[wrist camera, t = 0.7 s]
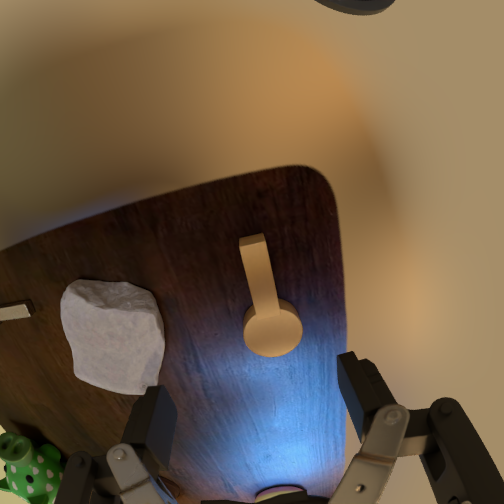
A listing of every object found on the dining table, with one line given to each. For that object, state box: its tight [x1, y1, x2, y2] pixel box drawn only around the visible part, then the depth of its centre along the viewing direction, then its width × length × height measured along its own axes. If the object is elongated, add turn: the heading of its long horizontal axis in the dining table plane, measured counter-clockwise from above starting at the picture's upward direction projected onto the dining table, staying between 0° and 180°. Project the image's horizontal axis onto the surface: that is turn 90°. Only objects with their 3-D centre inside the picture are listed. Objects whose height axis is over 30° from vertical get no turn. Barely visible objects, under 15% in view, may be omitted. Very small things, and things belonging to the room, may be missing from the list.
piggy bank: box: [0, 432, 67, 504], centre depth 29 cm, size 14×18×15 cm
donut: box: [255, 486, 302, 503], centre depth 38 cm, size 10×5×9 cm
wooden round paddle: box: [239, 233, 303, 357], centre depth 25 cm, size 11×5×2 cm, turn 13°
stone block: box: [61, 279, 165, 395], centre depth 25 cm, size 12×5×10 cm
